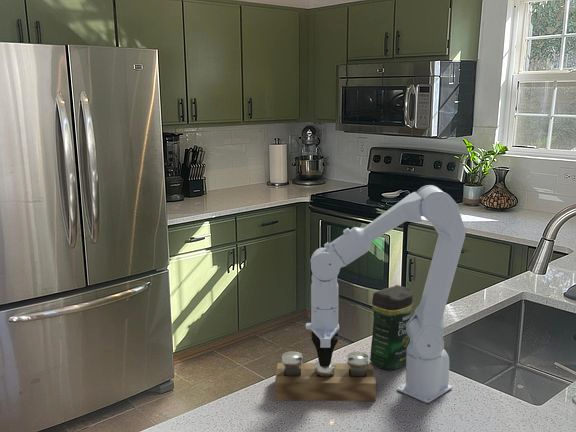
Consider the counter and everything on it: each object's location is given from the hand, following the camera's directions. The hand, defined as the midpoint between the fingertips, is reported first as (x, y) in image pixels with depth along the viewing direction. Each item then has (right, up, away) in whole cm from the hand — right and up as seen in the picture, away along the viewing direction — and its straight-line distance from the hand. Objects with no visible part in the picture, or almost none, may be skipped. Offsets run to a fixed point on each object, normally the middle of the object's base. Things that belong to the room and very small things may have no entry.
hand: (324, 364), depth 121 cm
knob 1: (-7, -3, +1) cm, 8 cm away
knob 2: (+7, -3, 0) cm, 8 cm away
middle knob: (0, -5, +1) cm, 5 cm away
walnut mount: (0, -6, +1) cm, 6 cm away
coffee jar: (+17, -3, +14) cm, 22 cm away
